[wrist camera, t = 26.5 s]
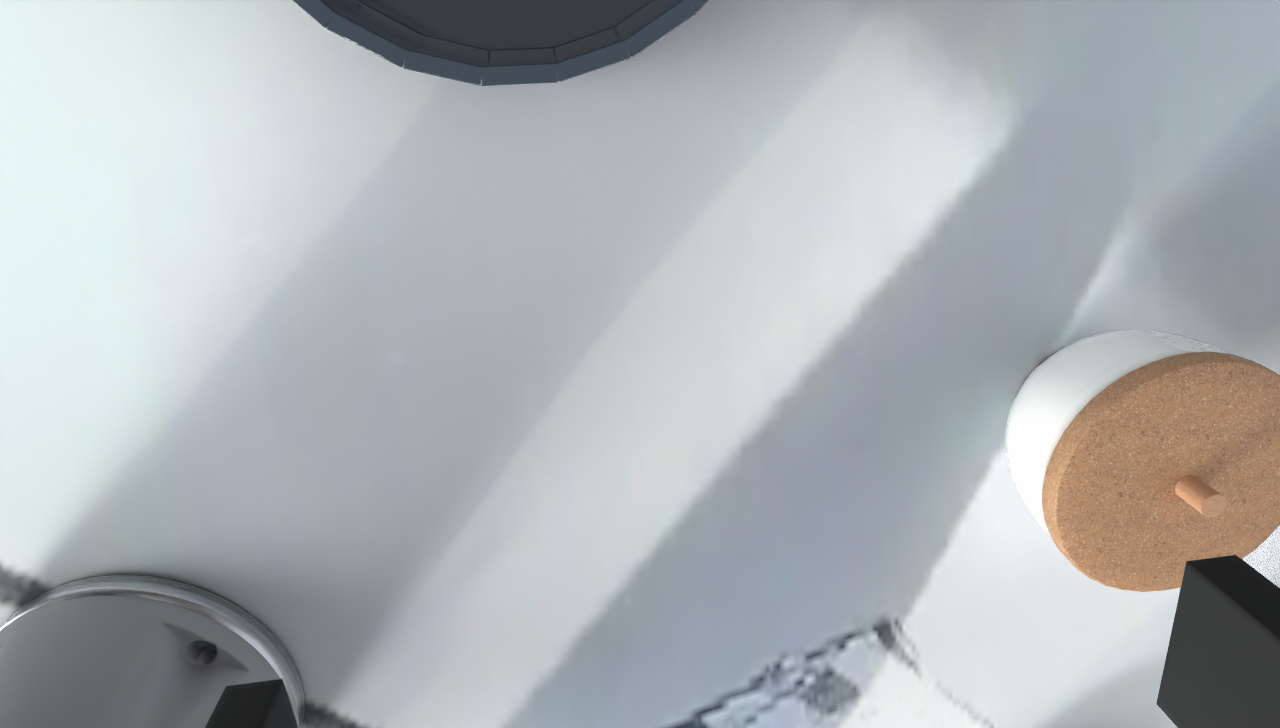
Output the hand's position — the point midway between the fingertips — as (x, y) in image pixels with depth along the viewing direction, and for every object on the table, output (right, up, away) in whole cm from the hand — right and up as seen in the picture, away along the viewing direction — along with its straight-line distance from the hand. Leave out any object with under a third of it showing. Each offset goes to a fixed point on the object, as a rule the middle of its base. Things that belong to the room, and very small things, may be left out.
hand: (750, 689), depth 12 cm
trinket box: (+20, +3, +28) cm, 34 cm away
